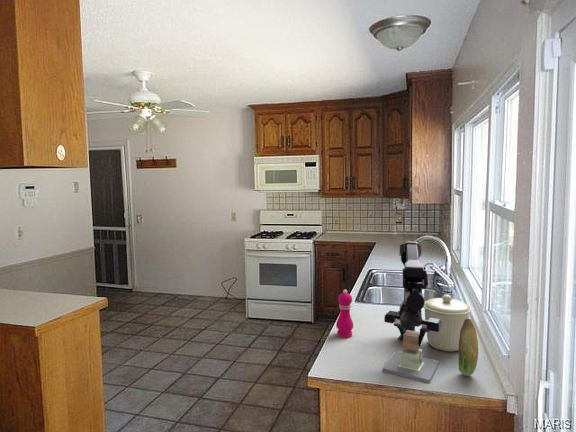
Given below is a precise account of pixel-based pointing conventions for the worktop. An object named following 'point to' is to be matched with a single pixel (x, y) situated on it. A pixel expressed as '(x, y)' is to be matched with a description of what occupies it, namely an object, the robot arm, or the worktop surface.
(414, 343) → the walnut block
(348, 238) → the worktop surface
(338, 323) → the pepper mill
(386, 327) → the worktop surface
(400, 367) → the build board
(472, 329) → the vegetable
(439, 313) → the canister
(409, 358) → the green block
